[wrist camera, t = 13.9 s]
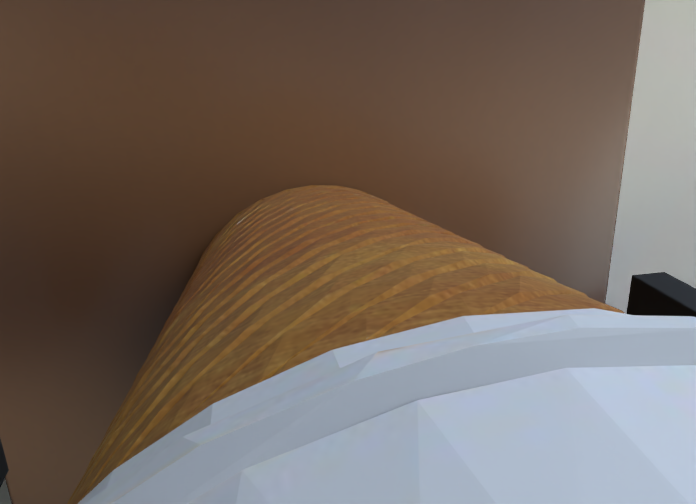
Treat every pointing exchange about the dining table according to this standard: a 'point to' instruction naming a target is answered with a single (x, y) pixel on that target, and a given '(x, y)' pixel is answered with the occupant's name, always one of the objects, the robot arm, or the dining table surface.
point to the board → (273, 163)
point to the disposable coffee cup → (395, 376)
